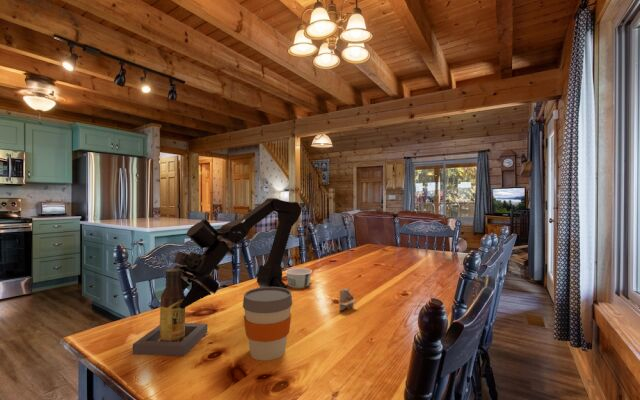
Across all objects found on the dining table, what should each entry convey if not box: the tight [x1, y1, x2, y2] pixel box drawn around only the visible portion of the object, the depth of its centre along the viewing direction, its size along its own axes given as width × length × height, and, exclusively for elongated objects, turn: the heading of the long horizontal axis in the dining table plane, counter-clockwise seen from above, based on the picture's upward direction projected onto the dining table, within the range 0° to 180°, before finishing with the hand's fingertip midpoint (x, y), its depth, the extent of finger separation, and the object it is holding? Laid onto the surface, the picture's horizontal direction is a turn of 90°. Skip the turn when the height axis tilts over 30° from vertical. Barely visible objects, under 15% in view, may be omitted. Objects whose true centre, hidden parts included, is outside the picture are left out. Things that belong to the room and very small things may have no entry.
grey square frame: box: [132, 322, 208, 357], centre depth 85 cm, size 14×14×2 cm
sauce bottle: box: [159, 268, 186, 342], centre depth 85 cm, size 6×6×20 cm
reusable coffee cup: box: [242, 287, 293, 362], centre depth 80 cm, size 13×12×15 cm
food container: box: [284, 267, 313, 289], centre depth 140 cm, size 12×12×6 cm
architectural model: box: [337, 287, 357, 312], centre depth 110 cm, size 3×7×7 cm, turn 139°
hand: (173, 303), depth 85 cm, fingers open, 9 cm apart
